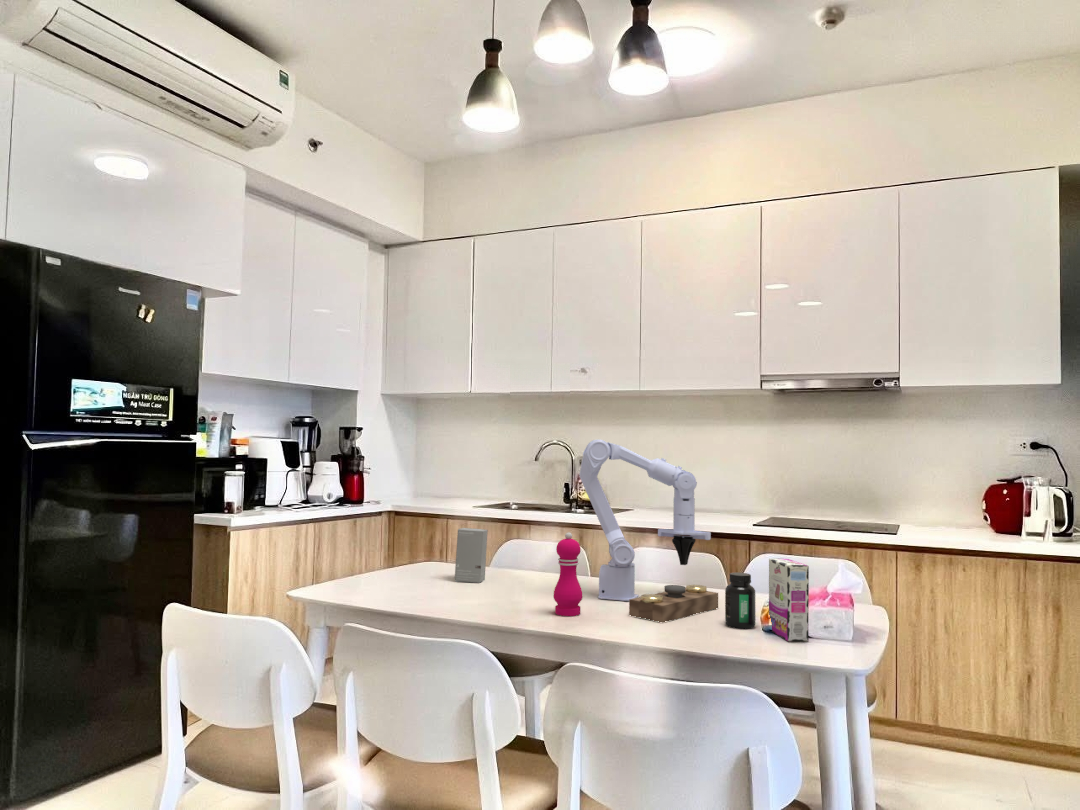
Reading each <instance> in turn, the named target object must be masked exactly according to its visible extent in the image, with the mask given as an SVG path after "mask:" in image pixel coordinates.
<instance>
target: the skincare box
mask: <svg viewBox="0 0 1080 810" xmlns="http://www.w3.org/2000/svg"><path fill="white" fill-rule="evenodd" d="M488 532H489V531H488V529H486V528H485V529H484V528H470V527H469V528H468V527H461V528H458V529H457V535H456V536H457V538H456V550H455V551H456V553H455V566H454V567H455V569H454V582H456V583H477V584H479V583H481V582H484V581H485V580H486V565H487V548H488V546H487V545H488Z"/></svg>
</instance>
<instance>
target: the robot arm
mask: <svg viewBox="0 0 1080 810" xmlns="http://www.w3.org/2000/svg"><path fill="white" fill-rule="evenodd" d="M607 460H611V461H612V460H621V461H623V462H626V463H629V464H631V465H634V466H635V467H638V468H640V469H643V470H645V471H646V473H647V475H648V478H651V479H653V480H655V481H657V482H660V483H662V484H664V485H666V486H668V487H670V486H671V487H673V491H674V492H673V493H674V494H673V520H672V521H673V523H672V524H673V526H672V527H673V528H658V529H657V536H658V537H670V538H671V537H672V540H671V541H672V544H673V545H674V547H675V549H676V552H677V557H678V560H679V564H680V566H687V565H688V563H689V559H690V553H691V551H692V549H693V547H694V545H695V543H696V540H705V541H710V540H711V539H712V536H711V535H712V533H711V531H700V530H695V529H696V528H695V526H696V525H695V509H696V508H695V507H696V505H695V503H696V502H695V500H696V499H695V489H696V488H697V484H698V482H697V479H696V477H695V475H694V474H693V473H692V472H690V471H686V470H684V469H683V467H682V466H679V465H678V466H677V465H674V464H671V463H670V462H667V459H665V458H663V457H661V458H659V457H656V458H653V459H649V458H647V457H645V456H643V455H641V454H638V453H636V452H635V451H633V450H631V449H629V448H627V447H625V446H623V445H620V444H617V443H613V442H610V441H608V442H607V441H606V440H604V439H599V438H598V439H593V440H591V441H590V442H588V443H587V445H586V446H585V449H584V451H583V452H582V458H581V463H580V470H579V479H580V482H581V483H582V485H583V487H584V489H585V492H586V495H587V497H588V499H589V501H590V503H591V506H592V508H593V510H594V513H595V515H596V517H597V520H598V522H599V524H600V527H601V529H602V531H603V533H604V536H605V538H606V540H607V542H608V554H609V556H610V557H611V559H610V560H609V561H608V562H607V563H608V564H601V565H600V568H599V572H598V573H599V574H598V597H597V599H599V600H601V599H602V600H611V601H613V600H614V601H623V602H629V599H633V598H638V597H640V595H639V594H636V593H635V583H636V582H635V579H636V578H635V576H636V575H635V571H636V570H635V567H636V566H635V565H636V564H635V563H634V562H633V561H634V559H635V554H636V553H635V550H634V547H633V546H632V545H631V544H630V543H629V541H627V540H626V538H625V536H624V534H623V531H622V530H621V528H620V525H619V523H618V521H617V519H616V515H615V514H614V512H613V509H612V507H611V505H610V502H609V501H608V498H607V496H606V493H605V491H604V490H603V487H602V484H601V482H600V481H599V478H598V475H599V473H600V470H601V468H602V466H603V464H604V463H606V461H607Z"/></svg>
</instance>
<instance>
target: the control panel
mask: <svg viewBox="0 0 1080 810" xmlns="http://www.w3.org/2000/svg"><path fill="white" fill-rule="evenodd" d="M684 587H685V593H682V597H681V598H672V597H668V593H667V592H665V591H663V592H657V593H655V594H656V595H661V596H663V602H662V603H655V604H652V603H645V602H642V601H641V596H638V597H637V598H633V599H629V601H628V602H629V603H628V605H629V606H628V608H629V609H628V610H629V611H628V616H629V615H631V616H630V617H632V616H636V617H635V618H637V617H641V618H646V619H650V620H649V621H651V620H654V621H653V622H655V621H659V622H658V623H660V622H665V621H669V620H672V621H675V620H674V619H676V620H679V619H678V618H680V619H683V617H684V618H687V616H688V617H691V616H690V615H692V616H694V615H693V614H696V613H699V614H701V613H700V612H703V613H705V612H704V611H707V612H709V611H708V610H711V611H713V610H712V609H715V610H717V609H716V608H718V609H719V592H717V591H709V590H707V592H706V593H699V594H698V593H690V592H687V591H686V586H684ZM696 615H697V614H696ZM641 618H640V619H641ZM646 619H645V620H646ZM669 622H670V621H669ZM665 623H666V622H665Z"/></svg>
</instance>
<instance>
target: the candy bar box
mask: <svg viewBox="0 0 1080 810" xmlns="http://www.w3.org/2000/svg"><path fill="white" fill-rule="evenodd" d="M809 569H810V567H809V565H807V564H804V563H801V562H798V561H796V560H793V559H790V558H781V557H780V558H769V559H768V616H769V615H770V618H771V622H772V631H771V632H772V633H774V634H775V635H776V636H778V637H779V638H782V639H783V640H785V641H786V642H789V643H790V642H791V643H794V642H795V643H797V642H799V643H800V642H801V643H802V642H803V643H804V642H809V641H810V639H809V634H810V633H809V620H810V619H809V614H810V613H809V612H810V611H809V592H810V591H809V589H810V588H809V587H810V585H809V583H810V582H809V581H810V579H809V578H810V577H809V572H810V571H809Z"/></svg>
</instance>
